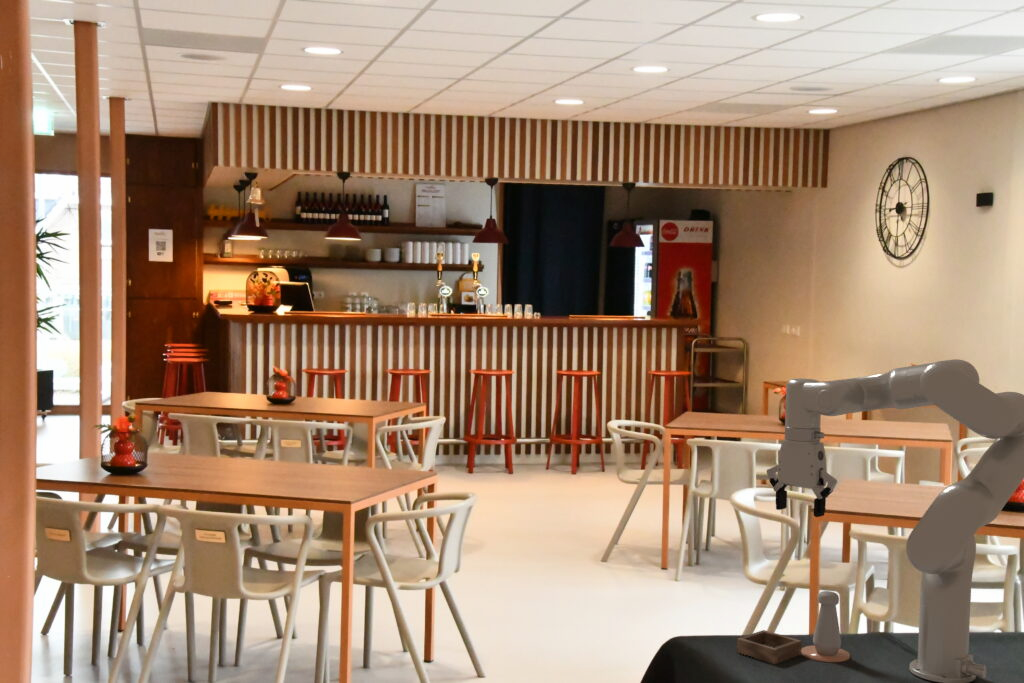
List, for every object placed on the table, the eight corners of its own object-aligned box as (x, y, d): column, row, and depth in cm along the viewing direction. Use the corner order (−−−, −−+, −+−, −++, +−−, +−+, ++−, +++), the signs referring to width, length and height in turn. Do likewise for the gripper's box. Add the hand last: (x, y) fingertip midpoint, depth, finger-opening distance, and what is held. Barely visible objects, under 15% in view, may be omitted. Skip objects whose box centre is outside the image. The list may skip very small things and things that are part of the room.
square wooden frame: (801, 654, 241) (801, 640, 241) (774, 664, 235) (774, 649, 234) (763, 643, 248) (763, 630, 248) (736, 652, 242) (736, 638, 242)
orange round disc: (859, 655, 241) (859, 653, 241) (833, 665, 234) (833, 663, 234) (818, 644, 248) (818, 642, 248) (791, 653, 242) (791, 651, 242)
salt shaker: (817, 646, 245) (819, 587, 245) (844, 651, 242) (846, 591, 242) (809, 654, 240) (810, 593, 240) (836, 659, 237) (838, 597, 237)
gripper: (846, 438, 245) (844, 516, 246) (779, 429, 258) (776, 504, 259) (827, 441, 240) (824, 521, 241) (759, 432, 253) (757, 508, 254)
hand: (799, 512), depth 250 cm, fingers open, 9 cm apart
